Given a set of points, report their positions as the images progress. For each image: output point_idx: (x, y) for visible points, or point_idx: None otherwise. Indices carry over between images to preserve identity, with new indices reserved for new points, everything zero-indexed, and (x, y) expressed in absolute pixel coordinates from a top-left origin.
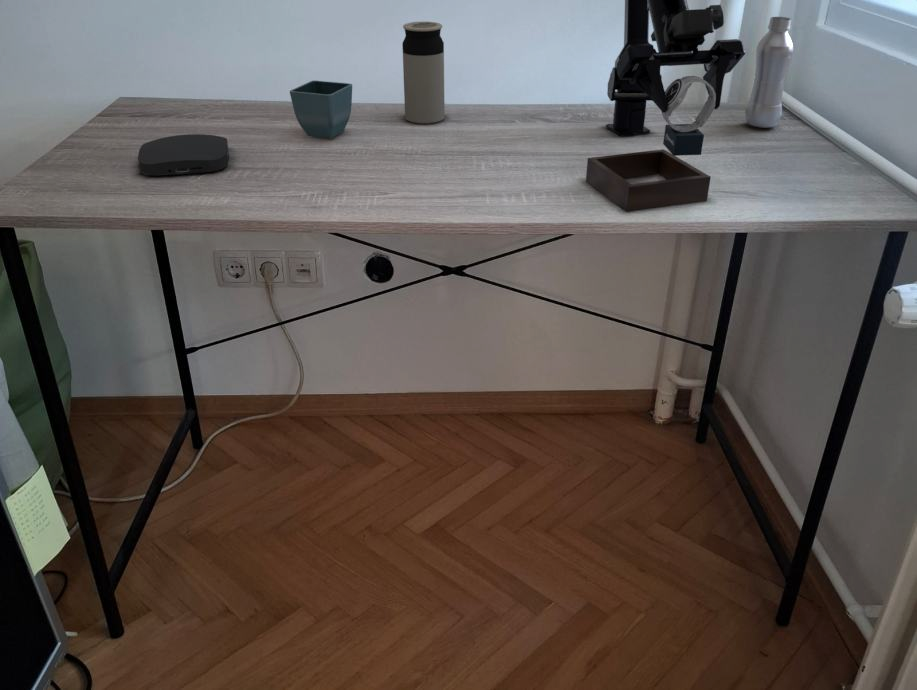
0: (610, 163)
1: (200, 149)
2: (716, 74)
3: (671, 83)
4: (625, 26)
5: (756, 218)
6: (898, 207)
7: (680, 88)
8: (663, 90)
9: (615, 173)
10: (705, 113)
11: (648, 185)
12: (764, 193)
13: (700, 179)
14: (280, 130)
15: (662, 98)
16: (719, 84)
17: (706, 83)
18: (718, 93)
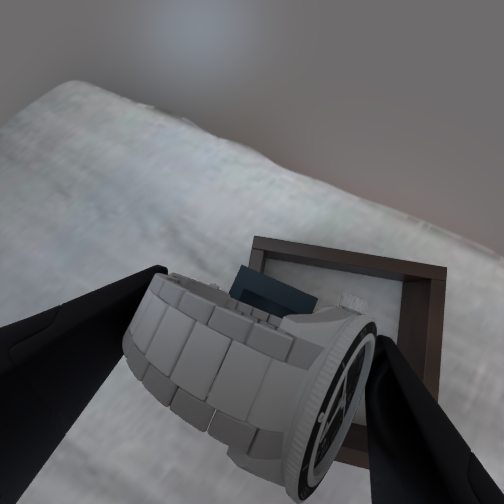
0: (367, 444)
1: None
2: (28, 356)
3: (303, 494)
4: None
5: (240, 160)
6: (44, 107)
7: (358, 334)
8: (421, 415)
9: (428, 350)
10: (204, 295)
11: (398, 259)
12: (150, 228)
13: (277, 239)
14: None
15: (417, 378)
16: (78, 309)
17: (185, 291)
18: (124, 288)
